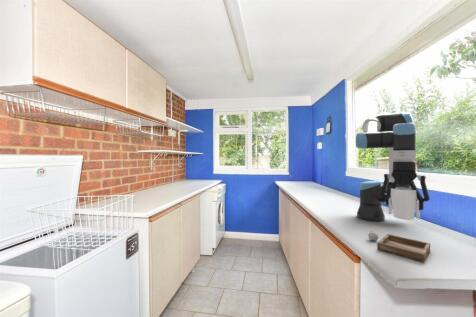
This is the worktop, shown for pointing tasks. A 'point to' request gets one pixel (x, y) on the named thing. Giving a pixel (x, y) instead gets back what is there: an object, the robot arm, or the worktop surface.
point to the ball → (373, 236)
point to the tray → (404, 247)
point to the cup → (404, 202)
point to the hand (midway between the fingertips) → (403, 215)
